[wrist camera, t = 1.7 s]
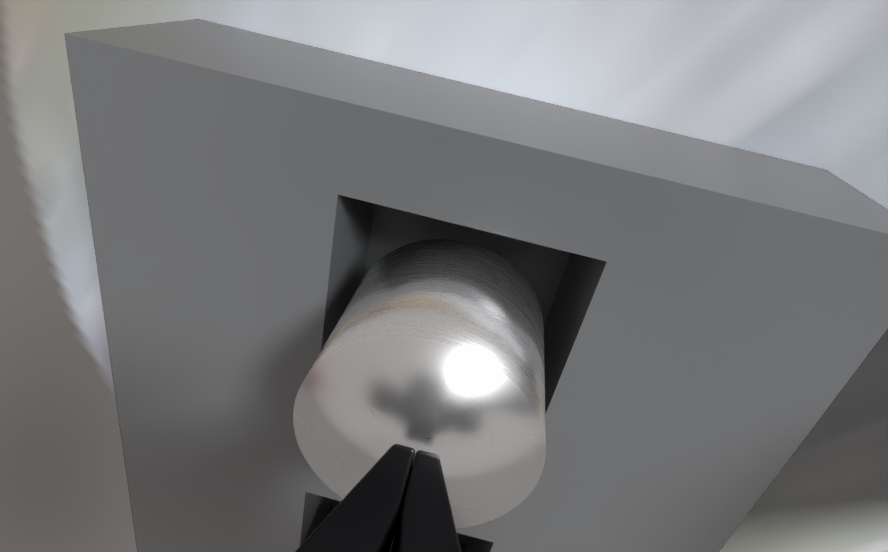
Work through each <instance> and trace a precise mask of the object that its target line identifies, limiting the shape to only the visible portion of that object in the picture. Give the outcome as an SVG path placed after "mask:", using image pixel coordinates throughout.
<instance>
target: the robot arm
mask: <svg viewBox="0 0 888 552" xmlns="http://www.w3.org/2000/svg"><path fill="white" fill-rule="evenodd" d="M414 456H415V457H414ZM413 460H414V461H413ZM390 551H391V552H461V549H460V545H459V540H458V536H457V532H456V527H455V523H454V519H453V514H452V510H451V506H450V501H449V497H448V492H447V488H446V484H445V479H444V475H443V471H442V466H441V462H440V458H439V456H438V455H436V454H433V453H430V452H426V451H422V450H418V451H417V452H416V454H415V450H414V449H413V448H411V447H407V446H403V445H400V444H394V445H392V446H391V447H390V448H389V449H388V450H387V451H386V453H385V454H384V455H383V456H382V457H381V458H380V459H379V460H378V461H377V462H376V463H375V465H374V466H373V467H372V468H371V469H370V470H369V471H368V472H367V473H366V474H365V476H364V477H363V478H362V479H361V480H360V481H359V482H358V483H357V484H356V485H355V486H354V488H353V489H352V490H351V491H350V492H349V493H348V494H347V495H346V496H345V497H344V499H343V500H342V501H341V502H340V503H339V504H338V505H337V506H336V507H335V508H334V509H333V511H332V512H331V513H330V514H329V515H328V516H327V517H326V518H325V519H324V520H323V522H322V523H321V524H320V525H319V526H318V527H317V528H316V529H315V530H314V531H313V532H312V534H311V535H310V536H309V537H308V538H307V539H306V540H305V541H304V542H303V543H302V544H301V546H300V547H299V548H298V549H297V550H296V551H295V552H390Z"/></svg>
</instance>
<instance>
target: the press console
mask: <svg viewBox="0 0 888 552" xmlns="http://www.w3.org/2000/svg"><path fill="white" fill-rule="evenodd" d="M64 34H65V41H66V48H67V55H68V62H69V69H70V77H71V84H72V91H73V98H74V105H75V112H76V119H77V126H78V134H79V141H80V148H81V155H82V162H83V169H84V176H85V183H86V190H87V198H88V205H89V212H90V219H91V226H92V233H93V240H94V247H95V254H96V262H97V269H98V276H99V283H100V290H101V297H102V304H103V311H104V318H105V326H106V333H107V340H108V347H109V354H110V361H111V368H112V375H113V383H114V390H115V397H116V404H117V411H118V418H119V425H120V432H121V439H122V446H123V453H124V461H125V467H126V475H127V482H128V489H129V496H130V503H131V510H132V518H133V525H134V532H135V539H136V546H137V552H295V551H296V550H297V549H298V548H299V547H300V546H301V544H302V543H303V542H304V541H305V540H306V539H307V538H308V537H309V536H310V535H311V534H312V532H313V531H314V530H315V529H316V528H317V527H318V526H319V525H320V524H321V523H322V522H323V520H324V519H325V518H326V517H327V516H328V515H329V514H330V513H331V512H332V511H333V509H334V508H335V507H336V506H337V505H338V504H339V503H340V502H341V501H342V500H343V498H341V497H340V496H339V495H338V494H336V493H335V492H334V491H332V490H331V489H330V488H329V487H328V486H327V485H326V484H325V483H324V482H323V481H322V480H321V479H320V478H319V477H318V476H317V475H316V473H315V472H314V471H313V470H312V468H311V467H310V465H309V464H308V463H307V461H306V460H305V458H304V456H303V454H302V452H301V450H300V448H299V445H298V442H297V439H296V436H295V431H294V425H293V409H294V404H295V399H296V396H297V393H298V391H299V388H300V386H301V384H302V383H303V381H304V379H305V378H306V376H307V374H308V373H309V371H310V369H311V367H312V366H313V364H314V362H315V361H316V359H317V357H318V355H319V354H320V352H321V350H322V349H323V347H324V345H325V344H326V342H327V340H328V338H329V337H330V335H331V333H332V332H333V330H334V328H335V327H336V325H337V323H338V321H339V320H340V318H341V316H342V315H343V313H344V311H345V309H346V308H347V306H348V304H349V303H350V301H351V299H352V298H353V296H354V294H355V292H356V291H357V289H358V287H359V286H360V284H361V282H362V281H363V279H364V277H365V275H366V274H367V272H368V271H369V270H370V269H371V268H372V266H373V265H374V264H375V263H377V262H378V261H379V260H380V259H381V258H382V257H384V256H385V255H387V254H388V253H390V252H391V251H393V250H395V249H397V248H399V247H402V246H404V245H407V244H410V243H413V242H418V241H423V240H432V239H448V240H457V241H463V242H468V243H471V244H474V245H477V246H481V247H483V248H485V249H487V250H489V251H492V252H494V253H495V254H497V255H499V256H500V257H502V258H504V259H505V260H506V261H508V262H509V263H510V264H511V265H513V266H514V267H515V268H516V269H517V270H518V271H519V272H520V273H521V274H522V275H523V276H524V277H525V279H526V280H527V281H528V283H529V284H530V285H531V287H532V289H533V291H534V292H535V294H536V296H537V298H538V301H539V304H540V306H541V310H542V315H543V325H544V373H545V426H546V457H545V464H544V468H543V471H542V474H541V477H540V479H539V481H538V483H537V484H536V486H535V488H534V489H533V490H532V492H531V493H530V494H529V496H528V497H527V498H526V499H525V500H524V501H523V502H521V503H520V504H519V505H518V506H517V507H515V508H514V509H512V510H511V511H509V512H508V513H506V514H504V515H502V516H500V517H498V518H496V519H494V520H491V521H488V522H486V523H483V524H479V525H475V526H470V527H464V528H457V529H456V532H457V536H458V540H459V545H460V549H461V552H719V551H720V550H721V549H722V547H723V546H724V545H725V543H726V542H727V541H728V539H729V538H730V537H731V535H732V534H733V533H734V531H735V530H736V529H737V527H738V526H739V525H740V523H741V522H742V521H743V519H744V518H745V517H746V515H747V514H748V513H749V511H750V510H751V509H752V507H753V506H754V505H755V504H756V502H757V501H758V500H759V498H760V497H761V496H762V494H763V493H764V492H765V490H766V489H767V488H768V486H769V485H770V484H771V482H772V481H773V480H774V478H775V477H776V476H777V474H778V473H779V472H780V470H781V469H782V468H783V466H784V465H785V464H786V462H787V461H788V460H789V458H790V457H791V456H792V454H793V453H794V452H795V451H796V449H797V448H798V447H799V445H800V444H801V443H802V441H803V440H804V439H805V437H806V436H807V435H808V433H809V432H810V431H811V429H812V428H813V427H814V425H815V424H816V423H817V421H818V420H819V419H820V417H821V416H822V415H823V413H824V412H825V411H826V409H827V408H828V407H829V405H830V404H831V403H832V401H833V400H834V399H835V398H836V396H837V395H838V394H839V392H840V391H841V390H842V388H843V387H844V386H845V384H846V383H847V382H848V380H849V379H850V378H851V376H852V375H853V374H854V372H855V371H856V370H857V368H858V367H859V366H860V364H861V363H862V362H863V360H864V359H865V358H866V356H867V355H868V354H869V352H870V351H871V350H872V348H873V347H874V346H875V345H876V343H877V342H878V341H879V339H880V338H881V337H882V335H883V334H884V333H885V331H886V330H887V329H888V209H886V208H885V207H883V206H882V205H880V204H878V203H877V202H875V201H874V200H872V199H871V198H869V197H868V196H866V195H865V194H863V193H861V192H860V191H858V190H857V189H855V188H854V187H852V186H851V185H849V184H848V183H846V182H844V181H843V180H841V179H840V178H838V177H837V176H835V175H834V174H832V173H831V172H829V171H827V170H824V169H820V168H816V167H812V166H808V165H803V164H799V163H795V162H791V161H787V160H783V159H778V158H774V157H770V156H766V155H762V154H758V153H753V152H749V151H745V150H741V149H737V148H733V147H728V146H724V145H720V144H716V143H712V142H708V141H704V140H699V139H695V138H691V137H687V136H683V135H679V134H674V133H670V132H666V131H662V130H658V129H654V128H649V127H645V126H641V125H637V124H633V123H629V122H624V121H620V120H616V119H612V118H608V117H604V116H599V115H595V114H591V113H587V112H583V111H579V110H575V109H570V108H566V107H562V106H558V105H554V104H550V103H545V102H541V101H537V100H533V99H529V98H525V97H520V96H516V95H512V94H508V93H504V92H500V91H495V90H491V89H487V88H483V87H479V86H475V85H470V84H466V83H462V82H458V81H454V80H450V79H446V78H441V77H437V76H433V75H429V74H425V73H421V72H416V71H412V70H408V69H404V68H400V67H396V66H391V65H387V64H383V63H379V62H375V61H371V60H366V59H362V58H358V57H354V56H350V55H346V54H341V53H337V52H333V51H329V50H325V49H321V48H317V47H312V46H308V45H304V44H300V43H296V42H292V41H287V40H283V39H279V38H275V37H271V36H267V35H262V34H258V33H254V32H250V31H246V30H242V29H237V28H233V27H229V26H225V25H221V24H217V23H212V22H208V21H204V20H200V19H194V20H185V21H176V22H166V23H157V24H148V25H138V26H129V27H120V28H110V29H101V30H92V31H82V32H73V33H64Z"/></svg>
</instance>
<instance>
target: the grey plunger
mask: <svg viewBox="0 0 888 552" xmlns="http://www.w3.org/2000/svg"><path fill="white" fill-rule="evenodd" d="M293 425H294V431H295V436H296V439H297V442H298V445H299V448H300V450H301V452H302V454H303V456H304V458H305V460H306V461H307V463H308V464H309V465H310V467H311V468H312V470H313V471H314V472H315V473H316V475H317V476H318V477H319V478H320V479H321V480H322V481H323V482H324V483H325V484H326V485H327V486H328V487H329V488H330V489H331V490H332V491H334V492H335V493H336V494H338V495H339V496H340V497H341V498H343V499H344V497H345V496H346V495H347V494H348V493H349V492H350V491H351V490H352V489H353V488H354V486H355V485H356V484H357V483H358V482H359V481H360V480H361V479H362V478H363V477H364V476H365V474H366V473H367V472H368V471H369V470H370V469H371V468H372V467H373V466H374V465H375V463H376V462H377V461H378V460H379V459H380V458H381V457H382V456H383V455H384V454H385V453H386V451H387V450H388V449H389V448H390V447H391V446H392V445H394V444H400V445H403V446H407V447H411V448H413V449H414V450H415V454H416V452H417V451H418V450H422V451H426V452H430V453H433V454H436V455H438V456H439V458H440V462H441V466H442V471H443V475H444V479H445V484H446V488H447V492H448V497H449V501H450V506H451V510H452V514H453V519H454V523H455V527H456V529H457V528H464V527H470V526H475V525H479V524H483V523H486V522H488V521H491V520H494V519H496V518H498V517H500V516H502V515H504V514H506V513H508V512H509V511H511V510H512V509H514V508H515V507H517V506H518V505H519V504H520V503H521V502H523V501H524V500H525V499H526V498H527V497H528V496H529V494H530V493H531V492H532V490H533V489H534V488H535V486H536V484H537V483H538V481H539V479H540V477H541V474H542V471H543V468H544V464H545V457H546V426H545V373H544V325H543V315H542V310H541V306H540V304H539V301H538V298H537V296H536V294H535V292H534V291H533V289H532V287H531V285H530V284H529V283H528V281H527V280H526V279H525V277H524V276H523V275H522V274H521V273H520V272H519V271H518V270H517V269H516V268H515V267H514V266H513V265H511V264H510V263H509V262H508V261H506V260H505V259H504V258H502V257H500V256H499V255H497V254H495V253H494V252H492V251H489V250H487V249H485V248H483V247H481V246H477V245H474V244H471V243H468V242H463V241H457V240H448V239H432V240H423V241H418V242H413V243H410V244H407V245H404V246H402V247H399V248H397V249H395V250H393V251H391V252H390V253H388V254H387V255H385V256H384V257H382V258H381V259H380V260H379V261H378V262H377V263H375V264H374V265H373V266H372V268H371V269H370V270H369V271H368V272H367V274H366V275H365V277H364V279H363V281H362V282H361V284H360V286H359V287H358V289H357V291H356V292H355V294H354V296H353V298H352V299H351V301H350V303H349V304H348V306H347V308H346V309H345V311H344V313H343V315H342V316H341V318H340V320H339V321H338V323H337V325H336V327H335V328H334V330H333V332H332V333H331V335H330V337H329V338H328V340H327V342H326V344H325V345H324V347H323V349H322V350H321V352H320V354H319V355H318V357H317V359H316V361H315V362H314V364H313V366H312V367H311V369H310V371H309V373H308V374H307V376H306V378H305V379H304V381H303V383H302V384H301V386H300V388H299V391H298V393H297V396H296V399H295V404H294V409H293ZM414 457H415V456H414ZM413 461H414V460H413Z"/></svg>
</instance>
